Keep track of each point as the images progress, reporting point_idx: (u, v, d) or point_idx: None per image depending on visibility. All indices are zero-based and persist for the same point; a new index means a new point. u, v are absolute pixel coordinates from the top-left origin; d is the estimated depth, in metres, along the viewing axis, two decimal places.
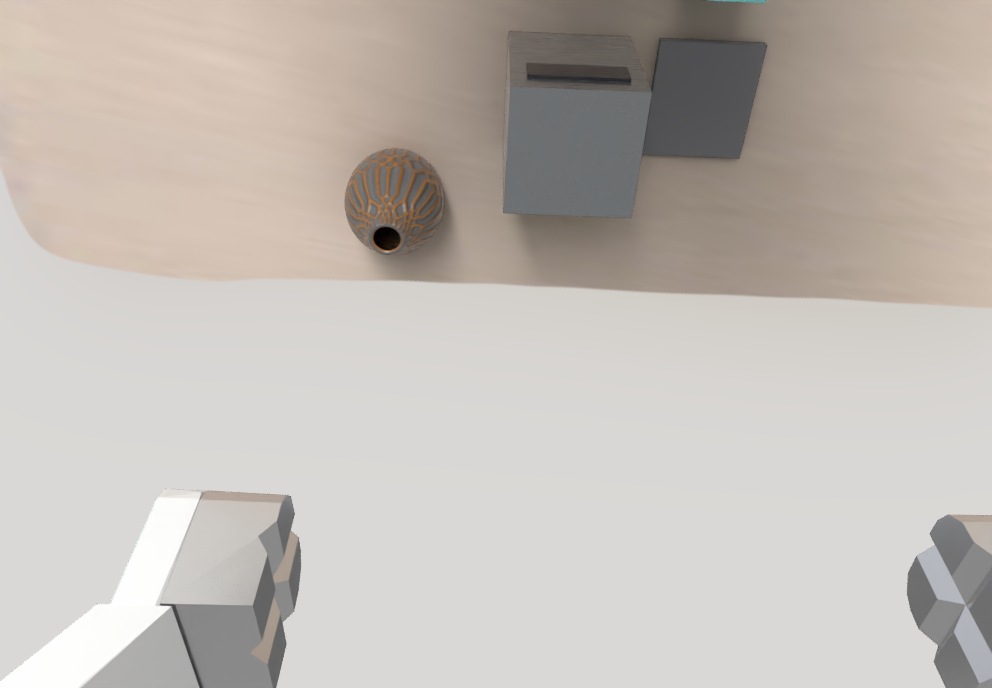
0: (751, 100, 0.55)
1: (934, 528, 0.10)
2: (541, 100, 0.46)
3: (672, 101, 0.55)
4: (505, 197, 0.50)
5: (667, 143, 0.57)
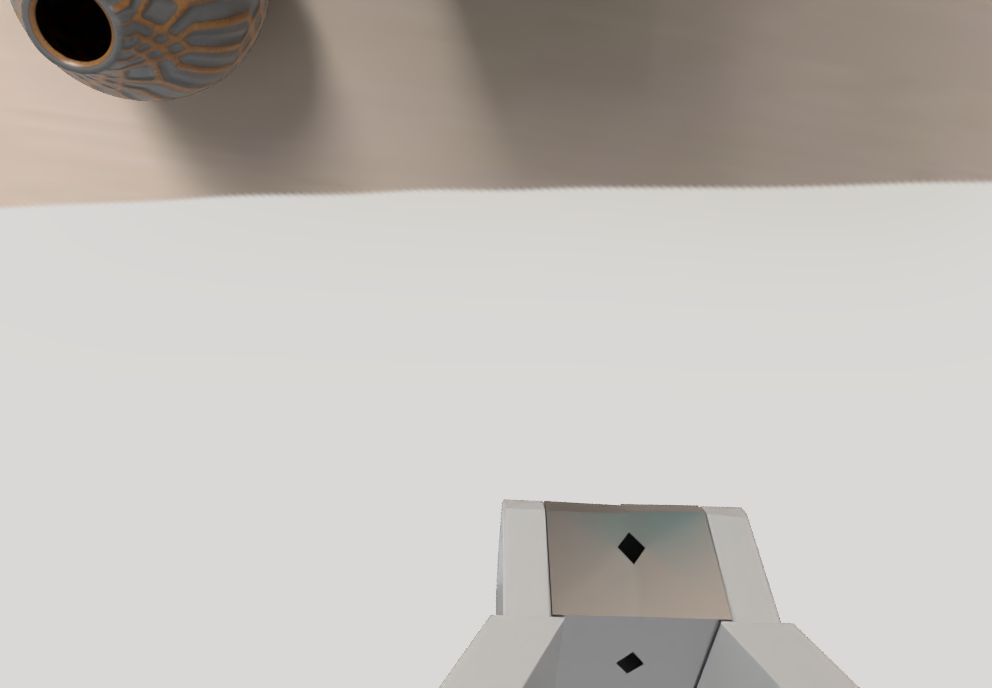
0: None
1: None
2: None
3: None
4: None
5: None
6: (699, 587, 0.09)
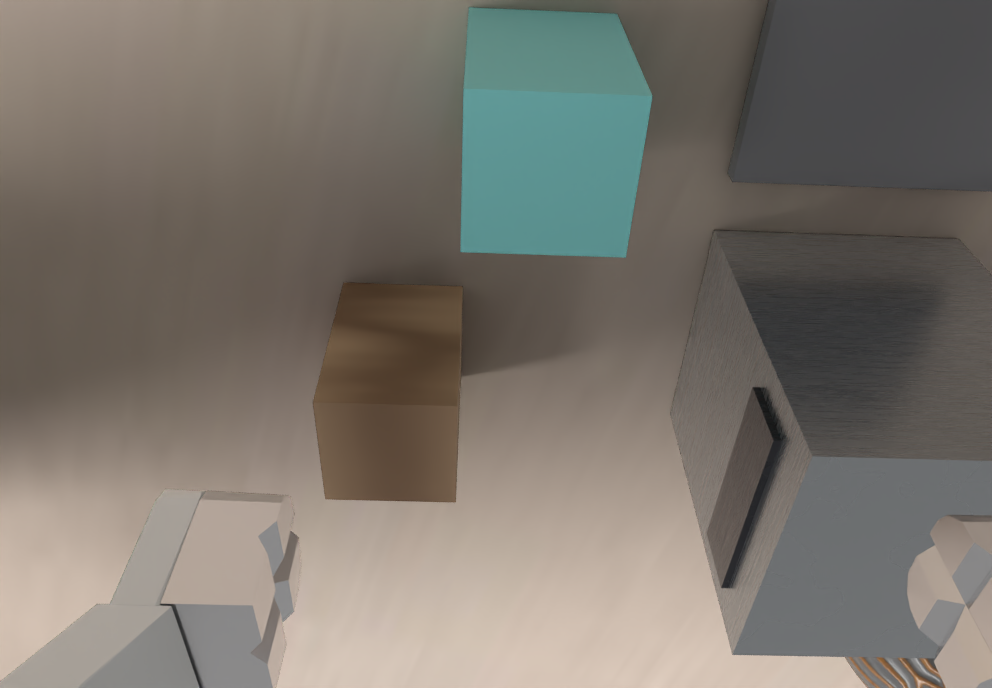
0: None
1: (934, 528, 0.10)
2: (774, 618, 0.22)
3: (880, 140, 0.23)
4: None
5: (986, 139, 0.23)
6: None
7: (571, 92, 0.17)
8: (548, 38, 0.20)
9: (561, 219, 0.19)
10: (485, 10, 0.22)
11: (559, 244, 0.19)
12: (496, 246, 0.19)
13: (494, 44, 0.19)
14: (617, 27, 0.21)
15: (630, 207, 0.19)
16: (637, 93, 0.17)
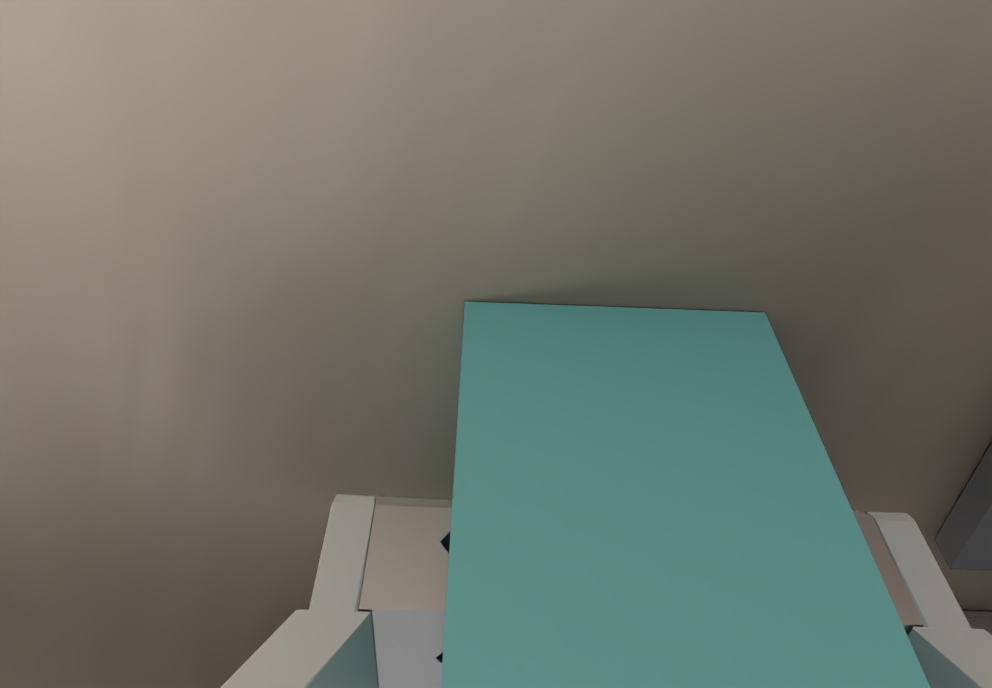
0: None
1: None
2: None
3: None
4: None
5: None
6: None
7: None
8: (639, 434, 0.09)
9: None
10: (498, 313, 0.10)
11: None
12: None
13: (519, 475, 0.08)
14: (781, 374, 0.10)
15: None
16: None
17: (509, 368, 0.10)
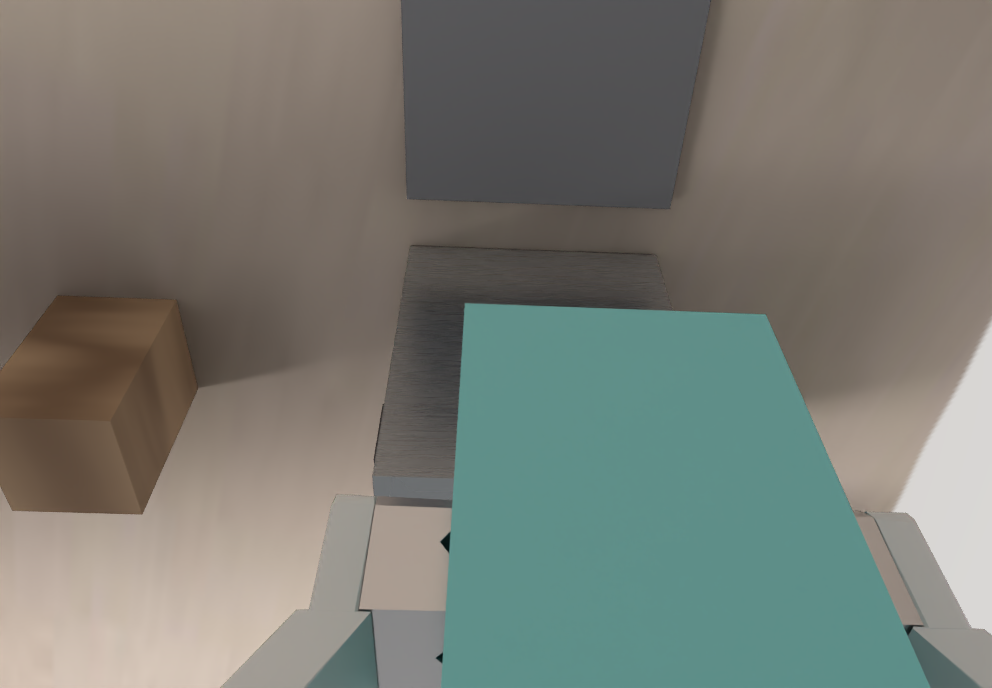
0: None
1: None
2: None
3: (542, 159, 0.24)
4: None
5: (648, 157, 0.24)
6: None
7: None
8: (640, 436, 0.09)
9: None
10: (498, 315, 0.10)
11: None
12: None
13: (518, 478, 0.08)
14: (782, 376, 0.10)
15: None
16: None
17: (509, 370, 0.10)
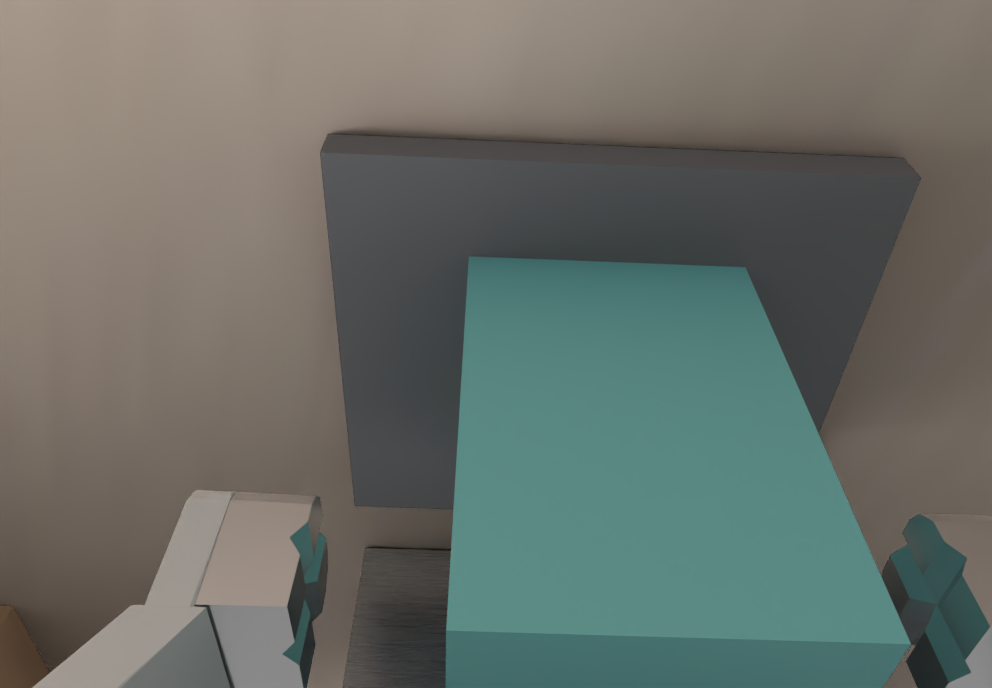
0: (599, 176, 0.11)
1: (907, 527, 0.10)
2: None
3: None
4: None
5: None
6: None
7: (711, 633, 0.07)
8: (627, 368, 0.10)
9: None
10: (499, 267, 0.11)
11: None
12: None
13: (518, 402, 0.09)
14: (758, 319, 0.11)
15: None
16: (871, 632, 0.07)
17: (509, 313, 0.11)
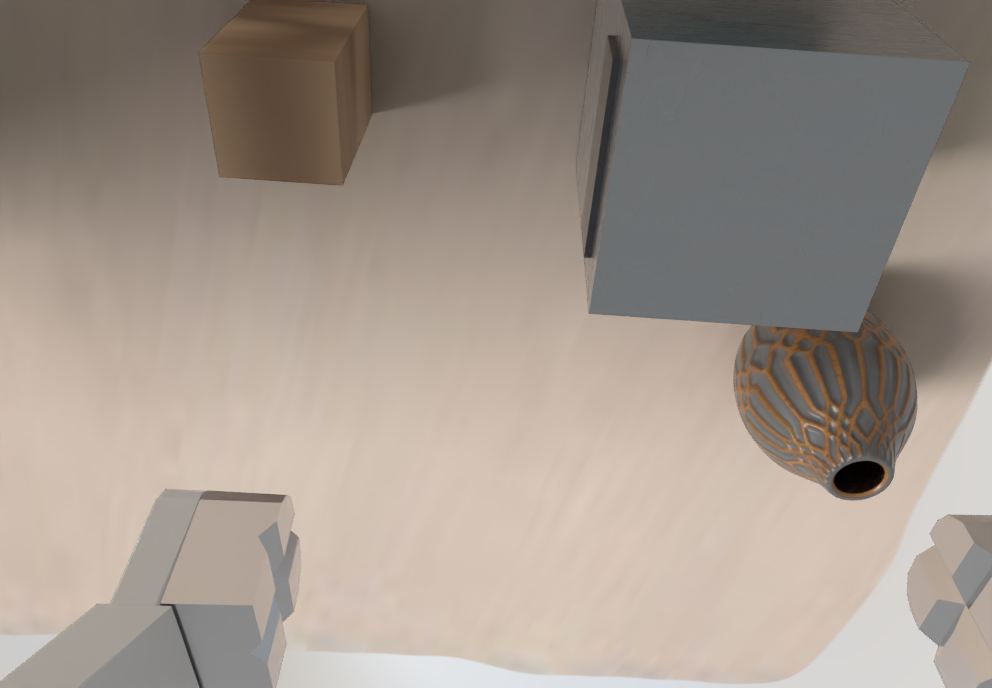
0: None
1: (934, 528, 0.10)
2: (623, 263, 0.23)
3: None
4: (821, 327, 0.24)
5: None
6: None
7: None
8: None
9: None
10: None
11: None
12: None
13: None
14: None
15: None
16: None
17: None
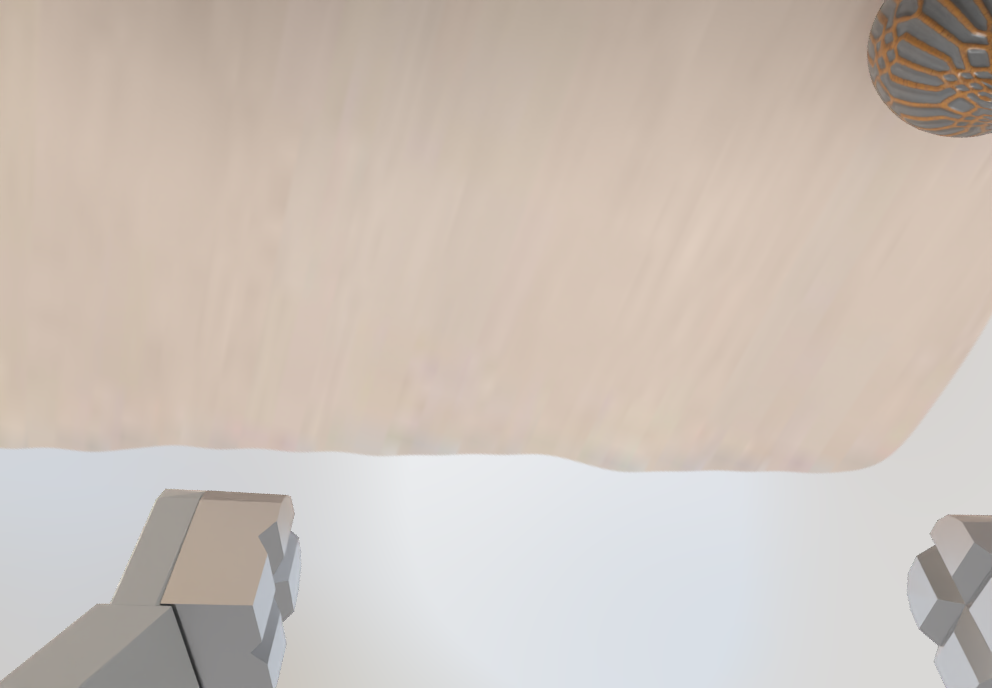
0: None
1: (934, 528, 0.10)
2: None
3: None
4: None
5: None
6: None
7: None
8: None
9: None
10: None
11: None
12: None
13: None
14: None
15: None
16: None
17: None
